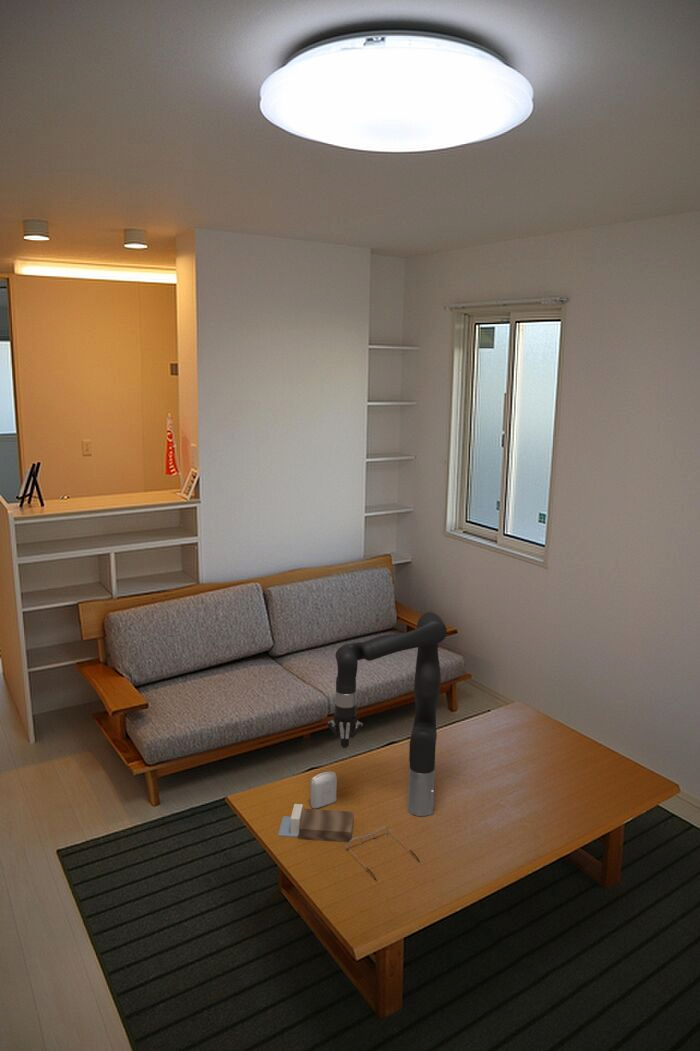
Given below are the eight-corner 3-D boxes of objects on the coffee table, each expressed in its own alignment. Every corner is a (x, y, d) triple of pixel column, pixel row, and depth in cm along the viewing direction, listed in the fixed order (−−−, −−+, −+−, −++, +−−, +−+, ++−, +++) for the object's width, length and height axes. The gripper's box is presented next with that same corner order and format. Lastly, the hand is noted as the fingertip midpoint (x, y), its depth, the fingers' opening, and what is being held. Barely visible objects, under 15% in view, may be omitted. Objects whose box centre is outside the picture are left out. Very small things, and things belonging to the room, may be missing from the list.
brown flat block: (353, 821, 272) (353, 811, 271) (351, 842, 260) (351, 832, 259) (303, 818, 273) (303, 808, 272) (299, 839, 261) (299, 828, 260)
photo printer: (331, 796, 287) (332, 767, 284) (338, 802, 283) (338, 772, 281) (308, 804, 281) (308, 774, 279) (314, 810, 278) (314, 780, 275)
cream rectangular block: (302, 804, 271) (294, 803, 271) (299, 819, 262) (290, 818, 262) (302, 819, 272) (294, 818, 272) (299, 834, 263) (290, 834, 263)
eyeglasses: (388, 833, 266) (388, 823, 265) (421, 865, 251) (421, 855, 250) (344, 850, 257) (345, 840, 256) (376, 884, 241) (376, 874, 240)
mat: (302, 818, 273) (302, 817, 273) (298, 837, 262) (298, 836, 262) (283, 817, 274) (283, 816, 273) (278, 835, 263) (278, 835, 263)
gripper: (365, 698, 269) (363, 742, 273) (328, 696, 270) (327, 740, 274) (363, 707, 262) (362, 753, 266) (325, 705, 263) (325, 751, 267)
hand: (344, 746), depth 270 cm, fingers closed
